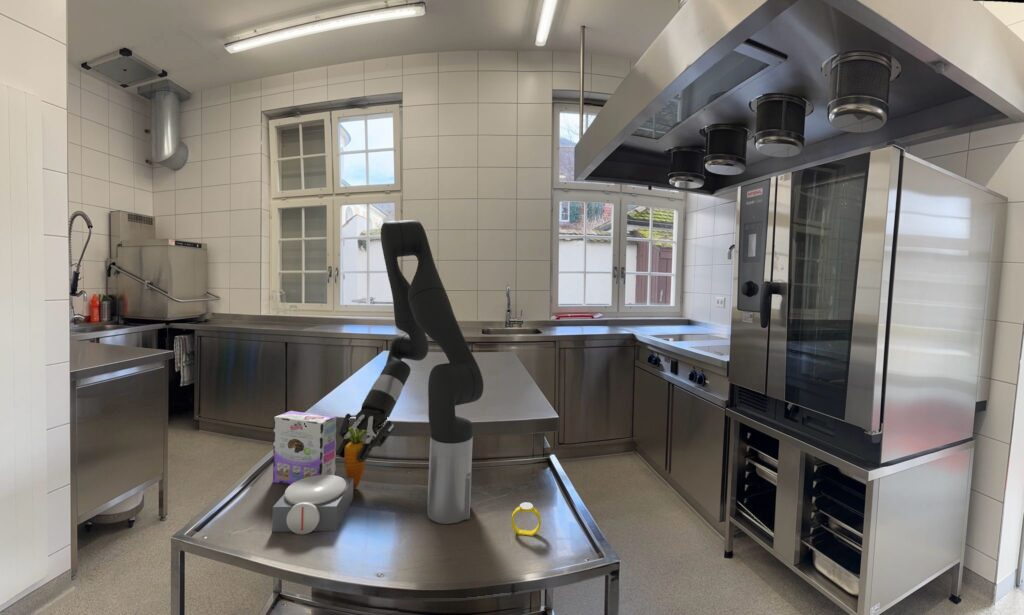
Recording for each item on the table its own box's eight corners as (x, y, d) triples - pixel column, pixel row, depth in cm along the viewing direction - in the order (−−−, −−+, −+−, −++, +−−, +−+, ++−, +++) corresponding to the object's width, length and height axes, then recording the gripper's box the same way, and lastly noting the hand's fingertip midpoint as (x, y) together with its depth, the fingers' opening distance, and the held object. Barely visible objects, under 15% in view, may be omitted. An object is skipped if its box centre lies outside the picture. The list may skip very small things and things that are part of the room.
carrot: (369, 486, 98) (371, 426, 98) (354, 495, 94) (355, 432, 93) (354, 481, 101) (356, 422, 100) (338, 490, 96) (340, 428, 95)
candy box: (336, 480, 101) (338, 415, 100) (320, 491, 95) (322, 422, 94) (289, 472, 104) (291, 409, 103) (271, 482, 98) (272, 416, 98)
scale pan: (352, 478, 92) (352, 474, 92) (335, 505, 80) (335, 501, 80) (298, 478, 91) (298, 474, 91) (274, 506, 79) (274, 502, 79)
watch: (511, 537, 82) (510, 508, 81) (512, 529, 84) (511, 501, 84) (540, 538, 81) (540, 509, 81) (541, 530, 84) (540, 502, 84)
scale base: (352, 499, 92) (353, 473, 92) (333, 534, 79) (334, 504, 79) (297, 499, 91) (298, 473, 91) (269, 535, 78) (269, 505, 78)
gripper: (354, 385, 106) (317, 446, 95) (401, 392, 101) (368, 457, 90) (367, 400, 111) (333, 460, 100) (412, 407, 106) (382, 470, 95)
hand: (350, 458), depth 95 cm, fingers closed on carrot, 5 cm apart
